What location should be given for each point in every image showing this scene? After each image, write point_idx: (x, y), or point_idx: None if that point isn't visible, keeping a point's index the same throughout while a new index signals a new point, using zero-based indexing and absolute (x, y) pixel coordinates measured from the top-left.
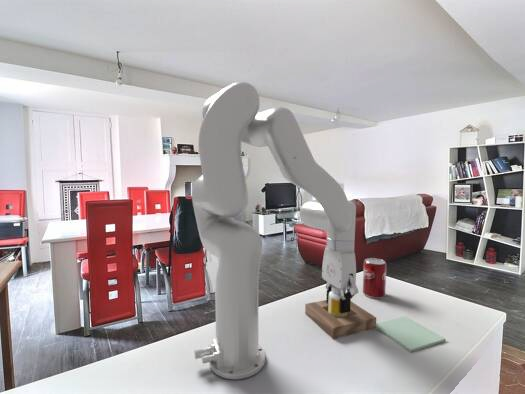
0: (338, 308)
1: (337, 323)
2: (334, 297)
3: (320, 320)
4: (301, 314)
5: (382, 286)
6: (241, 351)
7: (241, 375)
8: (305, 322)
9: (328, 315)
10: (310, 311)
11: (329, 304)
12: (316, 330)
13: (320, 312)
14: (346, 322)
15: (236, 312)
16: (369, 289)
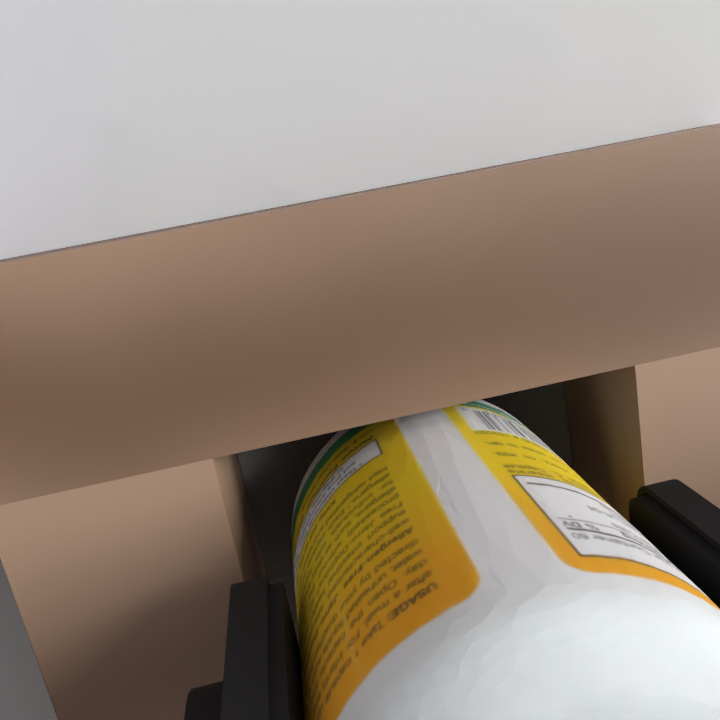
0: (313, 597)
1: (47, 414)
2: (421, 684)
3: (308, 203)
4: (705, 57)
5: None
6: None
7: None
8: (479, 29)
9: (336, 367)
10: (621, 144)
11: (493, 483)
12: (239, 113)
13: (467, 267)
14: (66, 569)
15: None
16: None
